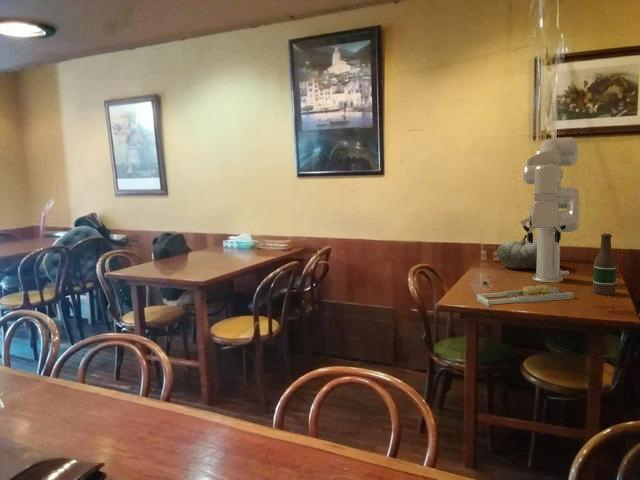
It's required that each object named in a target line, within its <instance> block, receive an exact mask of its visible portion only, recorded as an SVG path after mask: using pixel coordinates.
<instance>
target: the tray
mask: <svg viewBox="0 0 640 480" xmlns="http://www.w3.org/2000/svg"><path fill="white" fill-rule="evenodd" d="M498 297H499V298H500V297H507V296H506V293H505V291H504V292H503V291H502V292H493V293H492V292H491V293H478V294H477V293H476V294H475V300H476V301H477V302H478V303H480V304H482V305H484V306H486V307H488V308H491V307H493V306H492V305H500V304H502V305H503V304H513V303H520V302H519V298H512V299H511V298H502V299H501V298H500V299H487V298H498Z"/></svg>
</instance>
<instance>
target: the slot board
mask: <svg viewBox="0 0 640 480" xmlns="http://www.w3.org/2000/svg"><path fill="white" fill-rule="evenodd" d="M550 287H551V294H542V295H529V296H523V289H512V290H504V292H505V293H506V296H505V297H507V298H508V299H512V298H519V302H518V303H520V304H524V303H532V302H533V303H535V302H547V301H548V302H549V301H558V300H559V301H561V300H574V299H575V297H574V296H575V295H574V293H573V292H571V291H570V292H568V291H567V292H559V290H560V288H559V287H558V286H557V287H556V286H553V287H552V286H550Z"/></svg>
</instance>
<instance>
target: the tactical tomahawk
mask: <svg viewBox="0 0 640 480" xmlns="http://www.w3.org/2000/svg"><path fill="white" fill-rule="evenodd" d="M482 284H483V287H484V288H489V285H488V281H485V280H484V281H483V280H482Z"/></svg>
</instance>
